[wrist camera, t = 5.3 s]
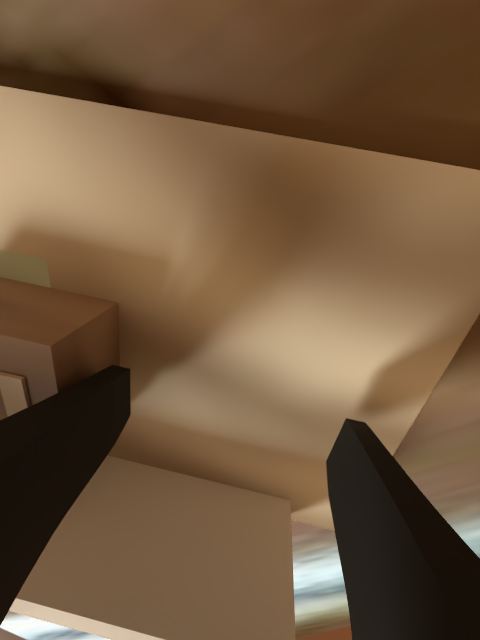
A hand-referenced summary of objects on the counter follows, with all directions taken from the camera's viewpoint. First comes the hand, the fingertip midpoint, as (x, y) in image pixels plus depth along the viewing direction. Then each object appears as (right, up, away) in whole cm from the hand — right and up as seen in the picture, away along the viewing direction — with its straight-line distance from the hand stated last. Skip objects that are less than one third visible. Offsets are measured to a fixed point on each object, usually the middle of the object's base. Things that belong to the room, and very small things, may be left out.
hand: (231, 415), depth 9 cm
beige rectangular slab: (-5, -4, +4) cm, 8 cm away
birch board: (-4, +2, +2) cm, 5 cm away
